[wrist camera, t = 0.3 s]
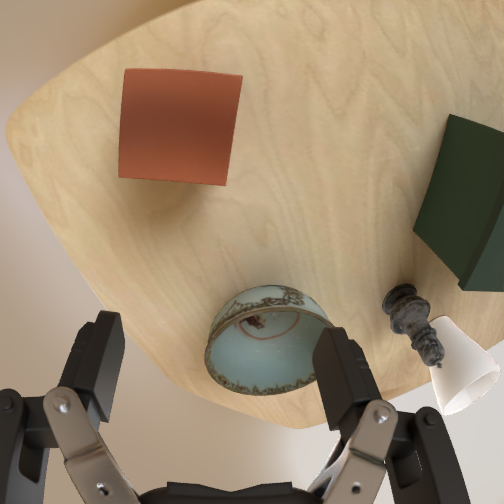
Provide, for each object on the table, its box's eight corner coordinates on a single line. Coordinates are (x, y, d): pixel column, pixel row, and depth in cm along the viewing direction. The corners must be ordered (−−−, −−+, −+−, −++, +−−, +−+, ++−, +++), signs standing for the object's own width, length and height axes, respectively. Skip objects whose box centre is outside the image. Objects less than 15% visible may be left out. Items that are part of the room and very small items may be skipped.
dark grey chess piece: (423, 280, 35) (470, 345, 25) (410, 313, 39) (448, 378, 28) (387, 283, 35) (432, 356, 25) (375, 318, 38) (410, 389, 28)
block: (154, 71, 21) (124, 68, 14) (237, 77, 22) (243, 75, 15) (146, 149, 25) (117, 177, 18) (225, 156, 26) (225, 186, 19)
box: (448, 110, 24) (524, 137, 15) (517, 150, 26) (576, 183, 17) (409, 232, 31) (462, 291, 22) (482, 245, 34) (528, 292, 24)
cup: (457, 293, 38) (504, 357, 26) (461, 327, 43) (498, 385, 31) (401, 330, 40) (439, 403, 29) (413, 359, 45) (443, 421, 34)
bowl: (180, 301, 34) (173, 356, 27) (279, 233, 30) (295, 283, 23) (253, 358, 40) (259, 408, 33) (340, 309, 36) (361, 358, 30)
